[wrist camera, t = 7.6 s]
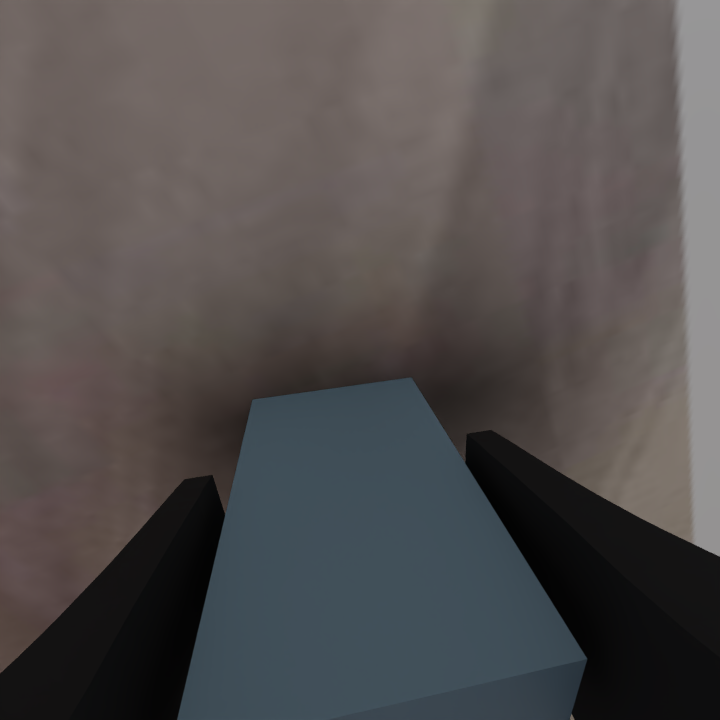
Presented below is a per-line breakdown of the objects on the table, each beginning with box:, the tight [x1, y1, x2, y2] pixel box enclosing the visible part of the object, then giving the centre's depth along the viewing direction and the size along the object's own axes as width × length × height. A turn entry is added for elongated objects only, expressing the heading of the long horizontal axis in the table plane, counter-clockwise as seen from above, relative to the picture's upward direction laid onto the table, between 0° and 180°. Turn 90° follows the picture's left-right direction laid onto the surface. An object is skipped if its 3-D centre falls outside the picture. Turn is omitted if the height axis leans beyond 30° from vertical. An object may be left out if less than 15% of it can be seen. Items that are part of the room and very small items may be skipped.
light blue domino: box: [177, 377, 587, 720], centre depth 8 cm, size 2×5×8 cm, turn 94°
